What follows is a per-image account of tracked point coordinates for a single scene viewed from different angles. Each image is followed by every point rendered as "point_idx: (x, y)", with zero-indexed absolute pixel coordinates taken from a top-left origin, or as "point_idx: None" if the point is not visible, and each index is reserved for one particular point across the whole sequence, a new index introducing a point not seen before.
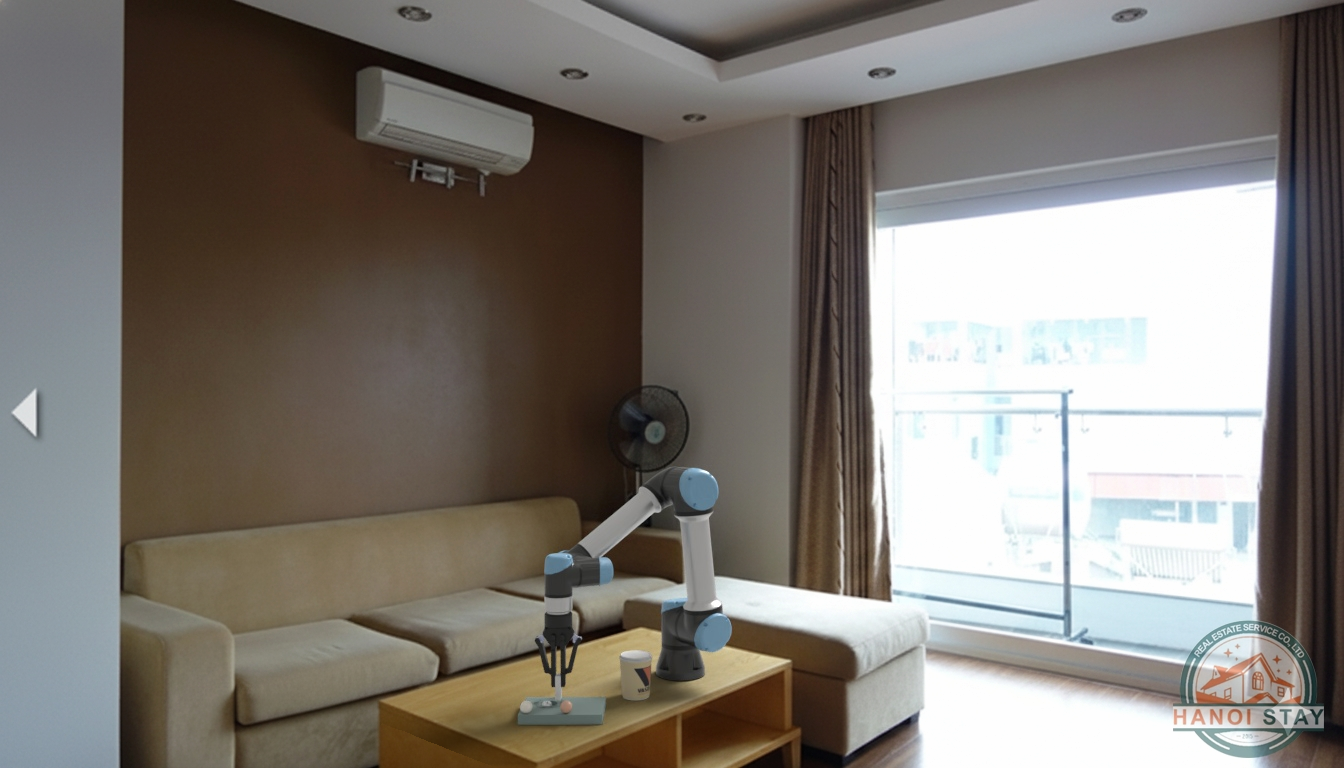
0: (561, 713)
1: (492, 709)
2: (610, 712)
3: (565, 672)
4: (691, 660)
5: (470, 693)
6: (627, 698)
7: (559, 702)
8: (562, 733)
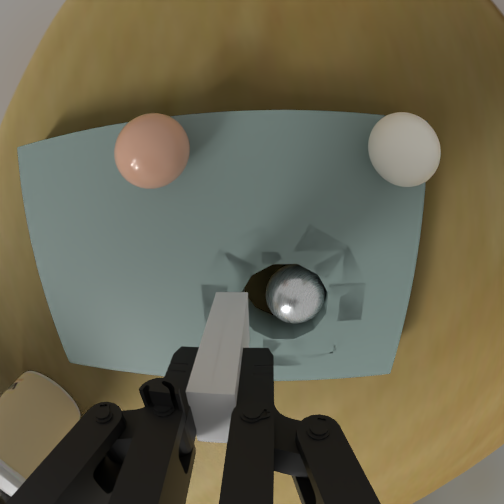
0: (189, 138)
1: (485, 309)
2: None
3: (145, 419)
4: None
5: (495, 410)
6: (52, 383)
7: None
8: (178, 12)
